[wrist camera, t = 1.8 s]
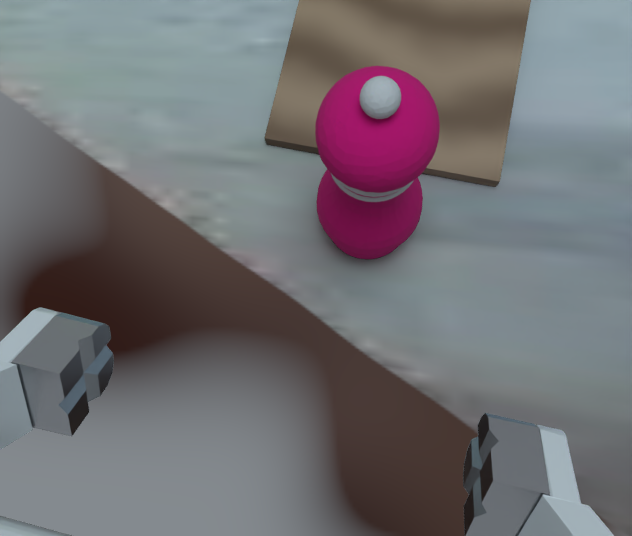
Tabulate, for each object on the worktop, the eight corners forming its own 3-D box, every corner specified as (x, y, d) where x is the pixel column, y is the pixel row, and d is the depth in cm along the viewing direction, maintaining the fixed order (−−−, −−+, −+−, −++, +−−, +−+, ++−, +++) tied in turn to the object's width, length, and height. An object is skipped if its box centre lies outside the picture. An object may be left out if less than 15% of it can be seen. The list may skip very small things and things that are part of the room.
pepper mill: (310, 255, 42) (276, 151, 23) (331, 166, 44) (315, -4, 24) (404, 275, 42) (452, 186, 22) (423, 184, 43) (484, 24, 23)
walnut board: (335, -132, 49) (335, -144, 48) (545, -104, 47) (550, -116, 46) (266, 144, 44) (264, 138, 43) (495, 186, 43) (499, 181, 41)
